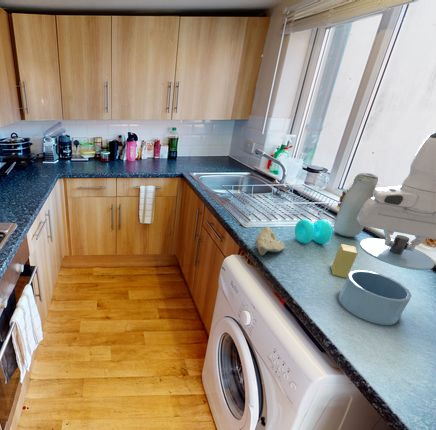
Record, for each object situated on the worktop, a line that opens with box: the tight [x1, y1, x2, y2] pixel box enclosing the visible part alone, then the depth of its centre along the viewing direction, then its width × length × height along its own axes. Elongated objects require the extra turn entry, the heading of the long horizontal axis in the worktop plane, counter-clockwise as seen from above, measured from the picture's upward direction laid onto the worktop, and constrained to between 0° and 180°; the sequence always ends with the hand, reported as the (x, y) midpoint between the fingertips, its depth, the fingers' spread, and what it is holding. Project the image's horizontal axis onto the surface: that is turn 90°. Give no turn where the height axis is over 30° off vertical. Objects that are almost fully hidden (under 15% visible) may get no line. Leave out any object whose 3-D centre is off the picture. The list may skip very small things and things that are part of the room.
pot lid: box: [359, 234, 436, 271], centre depth 75 cm, size 15×15×6 cm
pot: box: [338, 269, 412, 326], centre depth 83 cm, size 14×14×8 cm
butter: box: [330, 243, 358, 279], centre depth 98 cm, size 4×5×10 cm
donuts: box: [294, 218, 333, 245], centre depth 118 cm, size 10×10×10 cm
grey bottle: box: [333, 172, 379, 238], centre depth 120 cm, size 10×10×28 cm
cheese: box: [254, 226, 286, 256], centre depth 111 cm, size 15×7×15 cm
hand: (397, 247), depth 75 cm, fingers closed on pot lid, 2 cm apart
